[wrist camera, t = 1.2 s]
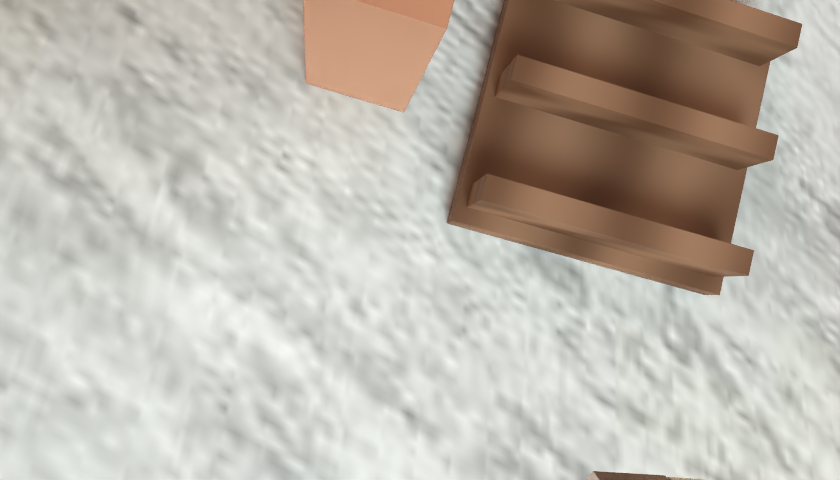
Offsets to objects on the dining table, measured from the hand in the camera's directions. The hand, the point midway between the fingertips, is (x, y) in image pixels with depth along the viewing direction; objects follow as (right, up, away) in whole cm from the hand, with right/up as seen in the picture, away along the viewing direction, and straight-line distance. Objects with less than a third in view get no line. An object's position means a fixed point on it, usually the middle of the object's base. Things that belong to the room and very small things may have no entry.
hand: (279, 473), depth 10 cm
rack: (+12, +9, +29) cm, 32 cm away
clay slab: (-1, +11, +27) cm, 29 cm away
